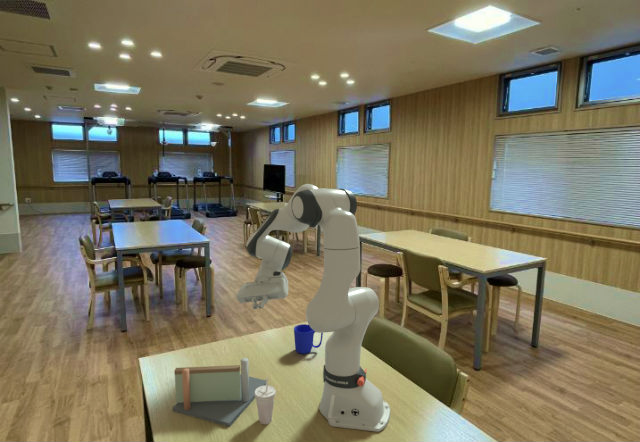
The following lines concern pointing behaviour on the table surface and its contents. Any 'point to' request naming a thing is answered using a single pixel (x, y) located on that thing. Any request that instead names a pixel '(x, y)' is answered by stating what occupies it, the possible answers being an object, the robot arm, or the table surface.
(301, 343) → the mug
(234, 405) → the board
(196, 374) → the panel
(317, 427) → the table surface
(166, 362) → the table surface
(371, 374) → the table surface
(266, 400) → the smoothie
